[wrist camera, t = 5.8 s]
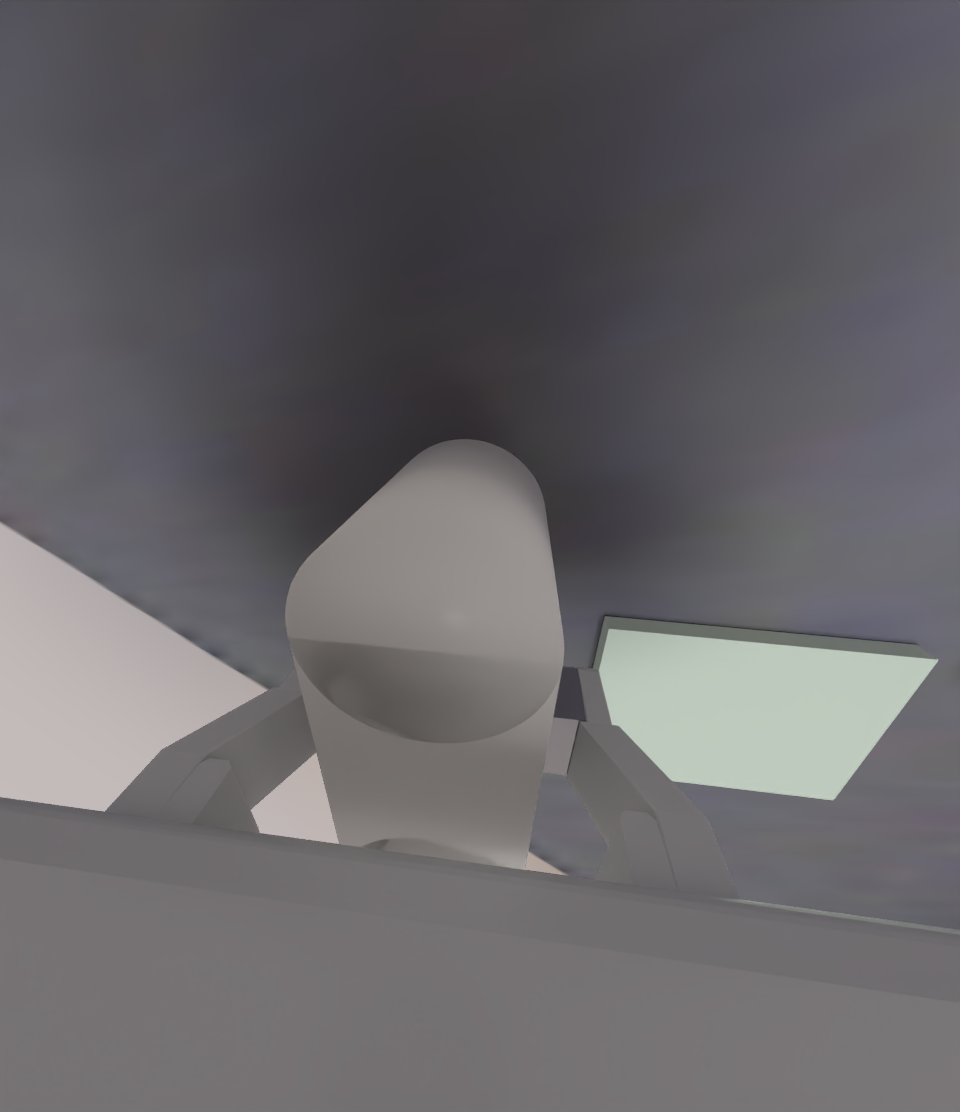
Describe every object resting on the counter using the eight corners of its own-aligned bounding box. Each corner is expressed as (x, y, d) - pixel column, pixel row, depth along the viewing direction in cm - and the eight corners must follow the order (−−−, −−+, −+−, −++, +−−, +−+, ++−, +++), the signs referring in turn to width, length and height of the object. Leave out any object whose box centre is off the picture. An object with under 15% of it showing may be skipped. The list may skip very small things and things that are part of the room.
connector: (385, 433, 9) (255, 509, 5) (555, 444, 9) (586, 534, 4) (411, 788, 16) (367, 958, 11) (510, 801, 15) (504, 980, 11)
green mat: (604, 616, 18) (608, 628, 18) (917, 644, 18) (938, 659, 17) (573, 753, 23) (575, 769, 22) (821, 782, 22) (833, 800, 21)
